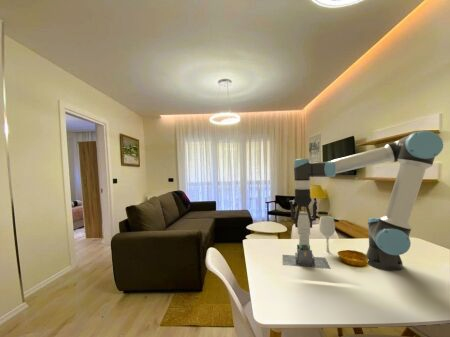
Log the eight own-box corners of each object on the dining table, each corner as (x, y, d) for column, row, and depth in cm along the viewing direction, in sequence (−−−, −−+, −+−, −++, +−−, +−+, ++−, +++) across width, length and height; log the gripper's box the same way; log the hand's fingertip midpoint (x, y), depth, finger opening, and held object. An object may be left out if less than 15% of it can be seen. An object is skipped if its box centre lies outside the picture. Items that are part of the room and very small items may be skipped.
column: (308, 248, 114) (307, 211, 115) (310, 251, 109) (308, 213, 110) (298, 247, 116) (297, 211, 116) (299, 251, 110) (298, 213, 111)
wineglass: (319, 256, 122) (318, 218, 123) (319, 250, 130) (318, 215, 131) (337, 257, 119) (335, 219, 119) (335, 252, 127) (334, 216, 127)
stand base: (325, 259, 116) (324, 241, 117) (330, 271, 103) (330, 250, 103) (282, 256, 122) (282, 239, 122) (282, 267, 108) (282, 247, 109)
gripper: (319, 188, 115) (320, 232, 114) (284, 188, 119) (285, 231, 119) (321, 189, 108) (323, 236, 107) (284, 189, 112) (286, 235, 111)
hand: (303, 233), depth 113 cm, fingers closed on column, 4 cm apart
